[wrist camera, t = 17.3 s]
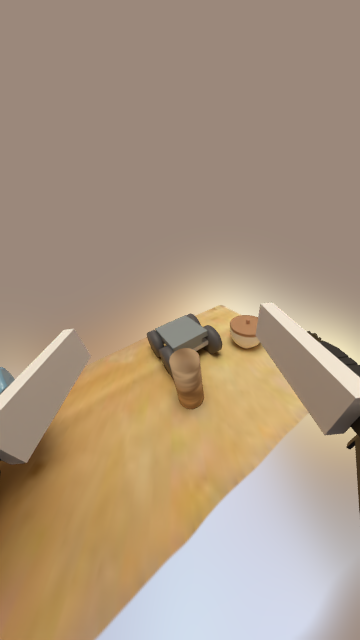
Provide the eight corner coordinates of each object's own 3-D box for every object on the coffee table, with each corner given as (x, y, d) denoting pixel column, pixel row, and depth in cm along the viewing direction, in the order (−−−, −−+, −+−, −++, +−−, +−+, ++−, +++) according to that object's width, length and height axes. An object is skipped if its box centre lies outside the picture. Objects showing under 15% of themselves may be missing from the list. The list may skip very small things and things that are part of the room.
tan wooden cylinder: (188, 414, 37) (179, 377, 29) (174, 394, 42) (163, 357, 34) (208, 398, 40) (206, 360, 32) (193, 380, 44) (187, 344, 37)
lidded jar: (270, 344, 52) (275, 321, 47) (245, 358, 49) (248, 334, 43) (245, 329, 60) (247, 307, 55) (222, 339, 57) (223, 318, 52)
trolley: (176, 384, 44) (171, 360, 39) (150, 347, 58) (144, 327, 53) (222, 355, 51) (222, 332, 46) (188, 329, 65) (186, 309, 60)
